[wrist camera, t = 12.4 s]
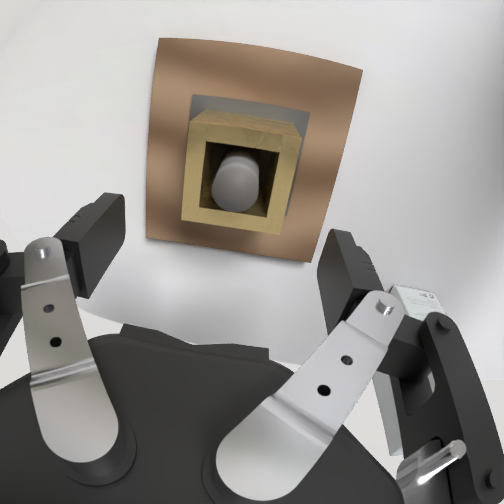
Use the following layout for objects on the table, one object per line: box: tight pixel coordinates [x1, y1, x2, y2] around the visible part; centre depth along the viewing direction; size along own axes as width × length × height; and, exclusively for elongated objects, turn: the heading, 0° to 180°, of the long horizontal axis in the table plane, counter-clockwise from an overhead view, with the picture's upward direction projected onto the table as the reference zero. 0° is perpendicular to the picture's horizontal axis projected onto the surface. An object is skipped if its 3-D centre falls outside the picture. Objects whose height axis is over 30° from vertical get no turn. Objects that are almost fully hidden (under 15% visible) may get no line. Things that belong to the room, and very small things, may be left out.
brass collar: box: [181, 110, 302, 235], centre depth 20 cm, size 6×6×5 cm
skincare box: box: [372, 285, 447, 456], centre depth 25 cm, size 8×6×15 cm
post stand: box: [146, 38, 363, 263], centre depth 20 cm, size 16×14×8 cm
